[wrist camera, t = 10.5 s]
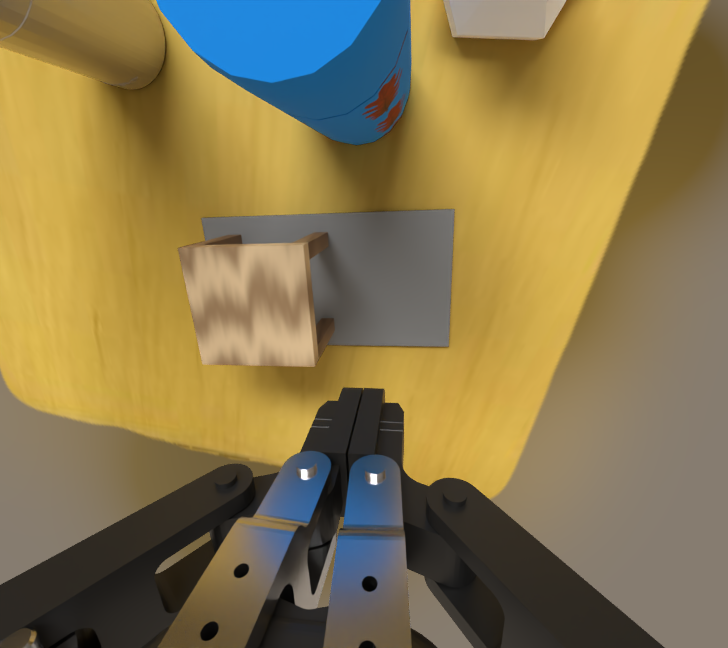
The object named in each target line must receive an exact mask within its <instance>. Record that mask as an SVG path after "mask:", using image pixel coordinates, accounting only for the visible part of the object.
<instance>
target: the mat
mask: <svg viewBox="0 0 728 648" xmlns="http://www.w3.org/2000/svg"><path fill="white" fill-rule="evenodd" d="M201 219H202V225H203V230H204V236H205V241H207V240H210V239H214V238H218V237H222V236H226V235H241V237H242V244H268V243H292V242H294V241H297V240H299V239H301V238H303V237H305V236H307V235H310V234H312V233H314V232H328V243H329V246H328V247H327V248H326V249H324V250H323V251H321V252H320V253H318V254H317V255H316V256H314V257H313V258H311V259H310V270H311V281H312V291H313V302H314V313H315V324H316V325H317V324H318V322H319V321H320V319H321V318H334V326H335V331H334V333H333V335H332V336H331V338H330V340H329V342H328V344H327V345H370V346H446V347H449V326H450V302H451V279H452V255H453V232H454V209H443V210H415V211H386V212H357V213H328V214H299V215H271V216H242V217H213V218H201Z"/></svg>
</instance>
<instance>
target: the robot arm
mask: <svg viewBox="0 0 728 648" xmlns="http://www.w3.org/2000/svg"><path fill="white" fill-rule="evenodd" d="M0 47H1V48H4V49H7V50H10V51H13V52H16V53H19V54H22V55H25V56H28V57H31V58H34V59H37V60H40V61H43V62H46V63H49V64H52V65H55V66H58V67H61V68H64V69H67V70H70V71H73V72H75V73H78V74H81V75H84V76H87V77H90V78H93V79H96V80H99V81H101V82H104V83H107V84H110V85H113V86H117V87H121V88H124V89H133V90H135V89H139V88H143V87H145V86H146V85H148V84H150V83H151V82H152V81H153V80H154V79H155V78H156V77H157V75H158V73H159V72H160V70H161V67H162V64H163V61H164V56H165V36H164V31H163V26H162V24H161V21H160V18H159V15H158V14H157V12H156V10H155V8H154V6H153V5H152V4H151V2H150V1H149V0H0ZM403 455H404V411H403V410H402V408H401V407H400V405H399V404H398V403H385V390H384V389H374V388H364V390H363V388H343V389H342V391H341V394H340V397H339V400H338V401H327V402H326V403H325V404H324V405H323V406H321V407H320V408H319V410H318V412H317V414H316V417H315V420H314V421H313V424H312V427H311V428H310V431H309V433H308V435H307V438H306V440H305V442H304V445H303V447H302V449H301V452H300V453H298V454H295V455H293V456H292V457H290V458H289V459H288V460H287V461H286V462H285V463H284V465H283V467H282V468H281V470H280V472H277V473H274V474H270V475H264V476H258V477H253V474H252V471H251V470H250V468H248V467H247V466H245V465H242V464H228V465H224V466H221V467H219V468H217V469H215V470H213V471H211V472H210V473H207V474H206V475H204V476H202V477H200V478H198V479H196V480H194V481H193V482H191V483H189V484H187V485H185V486H183V487H181V488H179V489H178V490H176V491H174V492H172V493H170V494H169V495H167V496H165V497H163V498H161V499H159V500H157V501H155V502H153V503H152V504H150V505H148V506H146V507H144V508H142V509H140V510H139V511H137V512H135V513H133V514H131V515H130V516H127V517H126V518H124V519H122V520H120V521H119V522H116V523H114V524H113V525H111V526H109V527H107V528H105V529H103V530H102V531H100V532H98V533H96V534H94V535H92V536H90V537H88V538H87V539H85V540H83V541H81V542H79V543H77V544H75V545H74V546H72V547H70V548H68V549H66V550H64V551H63V552H61V553H59V554H57V555H55V556H54V557H51V558H50V559H48V560H46V561H44V562H42V563H40V564H39V565H37V566H35V567H33V568H31V569H29V570H27V571H26V572H24V573H22V574H20V575H18V576H16V577H14V578H12V579H11V580H9V581H7V582H5V583H3V584H1V585H0V648H437V647H436V646H435V645H434V644H433V643H432V642H431V641H429V640H428V639H427V638H425V637H424V636H423V635H422V634H420V633H418V632H417V631H415V630H413V629H412V628H411V627H410V611H409V594H408V578H407V569H409V570H412V571H414V572H416V573H418V574H421V575H423V576H424V577H425V581H426V584H427V586H428V587H429V589H430V590H431V592H432V593H433V594H434V596H435V597H436V598H437V600H438V601H439V602H440V604H441V605H442V606H443V607H444V609H445V610H446V611H447V613H448V614H449V615H450V617H451V618H452V619H453V621H454V622H455V623H456V625H457V626H458V627H459V629H460V630H461V631H462V633H463V634H464V635H465V637H466V638H467V639H468V640H469V642H470V643H471V644H472V646H473V647H474V648H664V647H663V646H662V645H661V644H660V643H658V642H657V641H656V640H655V639H654V638H653V637H651V636H650V635H649V634H648V633H647V632H646V631H644V630H643V629H642V628H641V627H639V626H638V625H637V624H636V623H635V622H634V621H633V620H631V619H630V618H629V617H628V616H627V615H625V614H624V613H623V612H622V611H621V610H620V609H618V608H617V607H616V606H615V605H614V604H612V603H611V602H610V601H609V600H608V599H606V598H605V597H604V596H603V595H602V594H601V593H599V592H598V591H597V590H596V589H595V588H593V587H592V586H591V585H590V584H589V583H588V582H586V581H585V580H584V579H583V578H582V577H580V576H579V575H578V574H577V573H576V572H575V571H573V570H572V569H571V568H570V567H569V566H567V565H566V564H565V563H564V562H563V561H562V560H560V559H559V558H558V557H557V556H556V555H554V554H553V553H552V552H551V551H550V550H548V549H547V548H546V547H545V546H544V545H543V544H541V543H540V542H539V541H538V540H537V539H536V538H534V537H533V536H532V535H531V534H530V533H528V532H527V531H526V530H525V529H524V528H522V527H521V526H520V525H519V524H518V523H517V522H515V521H514V520H513V519H512V518H511V517H509V516H508V515H507V514H506V513H505V512H504V511H502V510H501V509H500V508H499V507H498V506H496V505H495V504H494V503H493V502H492V501H491V500H489V499H488V498H487V497H486V496H485V495H483V494H482V493H481V492H480V491H479V490H478V489H476V488H475V487H474V486H473V485H471V484H470V483H468V482H466V481H463V480H460V479H456V478H443V479H439V480H437V481H435V482H434V483H432V484H431V485H430V486H427V485H424V484H421V483H418V482H416V481H415V480H413V479H411V478H410V477H409V476H408V475H407V474H406V473H405V471H404V470H403ZM340 517H344V525H343V528H341V529H340V530H339V534H338V540H337V528H338V524H339V520H340ZM207 532H209V533H210V537H211V540H210V541H208V542H207V543H205V544H204V545H202V546H201V547H199V548H198V549H196V550H195V551H193V552H192V553H190V554H189V555H187V556H186V557H184V558H183V559H181V560H180V561H178V562H177V563H175V564H174V565H172V566H171V567H169V568H168V569H166V570H164V571H163V572H161V573H158V574H155V572H156V570H157V568H158V567H159V565H160V564H161V563H162V562H163V561H164V560H166V559H167V558H169V557H170V556H172V555H173V554H175V553H176V552H178V551H179V550H181V549H182V548H184V547H186V546H187V545H188V544H190V543H192V542H193V541H195V540H196V539H198V538H200V537H201V536H203V535H204V534H206V533H207ZM336 542H337V548H336V556H335V563H334V571H333V578H332V586H331V593H330V601H329V606H328V607H322V608H317V606H318V602H319V598H320V595H321V592H322V588H323V585H324V582H325V579H326V575H327V572H328V569H329V566H330V562H331V559H332V555H333V552H334V549H335V546H336Z"/></svg>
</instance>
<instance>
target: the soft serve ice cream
mask: <svg viewBox="0 0 728 648" xmlns="http://www.w3.org/2000/svg"><path fill="white" fill-rule="evenodd" d="M443 2H444V6H445V10H446V14H447V17H448V21H449V25H450V29H451V33H452V37H461V38H488V39H515V40H538V39H542V38H544V37H545V36H546V34H547V32H548V31H549V29H550V27H551V26H552V24H553V22H554V21H555V19H556V17H557V16H558V14H559V12H560V11H561V9H562V7H563V5H564V4H565V2H566V0H443Z"/></svg>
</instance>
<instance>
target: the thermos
mask: <svg viewBox="0 0 728 648" xmlns="http://www.w3.org/2000/svg"><path fill="white" fill-rule="evenodd" d="M156 1H157V3H158V6H159V8H160V10H161V12H162V13H163V14H164V15H165V17H166V18H167V19H168V20H169V22H170V23H171V24H172V25H173V27H174V28H175V29H176V30H177V32H178V33H179V34H180V35H181V37H182V38H183V39H184V40H185V42H186V43H187V44H188V45H189V47H190V48H191V49H192V50H193V51H194V52H195V53H196V54H197V55H198V56H199V57H200V58H201V59H202V60H203V61H205V62H206V63H207V64H208V65H209V66H210V67H211V68H213V69H214V70H216V71H217V72H219V73H220V74H222V75H223V76H225V77H227V78H228V79H230V80H231V81H233V82H234V83H236V84H237V85H239V86H241V87H242V88H244V89H245V90H247V91H249V92H250V93H252V94H254V95H255V96H257V97H259V98H261V99H262V100H264V101H266V102H268V103H269V104H271V105H273V106H275V107H276V108H278V109H280V110H281V111H283V112H285V113H287V114H288V115H290V116H292V117H294V118H295V119H297V120H299V121H301V122H302V123H304V124H306V125H307V126H309V127H311V128H313V129H314V130H316V131H318V132H320V133H321V134H323V135H325V136H327V137H328V138H330V139H332V140H335V141H339V142H343V143H348V144H353V145H361V144H366V143H371V142H375V141H376V140H378V139H379V138H381V137H382V136H384V135H385V134H387V133H389V132H390V131H391V129H392V128H393V127H394V125H395V124H396V123H397V122H398V120H399V119H400V118H401V116H402V113H403V111H404V108H405V105H406V102H407V99H408V96H409V91H410V80H411V17H410V0H156Z"/></svg>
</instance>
